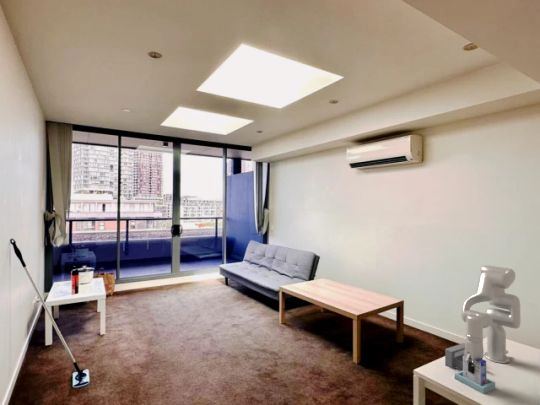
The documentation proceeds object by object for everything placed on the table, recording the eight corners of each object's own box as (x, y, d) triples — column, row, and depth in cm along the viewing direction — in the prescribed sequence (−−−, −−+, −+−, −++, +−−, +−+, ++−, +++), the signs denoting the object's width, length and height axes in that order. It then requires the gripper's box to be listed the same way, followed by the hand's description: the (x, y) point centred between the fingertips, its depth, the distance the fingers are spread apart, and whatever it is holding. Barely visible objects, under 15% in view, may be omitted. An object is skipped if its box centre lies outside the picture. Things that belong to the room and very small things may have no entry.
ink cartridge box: (487, 383, 165) (486, 356, 164) (481, 386, 162) (480, 359, 162) (468, 373, 173) (468, 348, 173) (462, 376, 171) (462, 351, 171)
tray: (466, 373, 177) (466, 368, 177) (495, 388, 163) (495, 382, 163) (454, 378, 172) (454, 373, 172) (483, 393, 158) (483, 388, 158)
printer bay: (463, 358, 194) (463, 343, 194) (489, 370, 180) (489, 353, 180) (445, 365, 186) (445, 349, 186) (470, 378, 172) (470, 360, 172)
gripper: (476, 332, 175) (476, 364, 175) (457, 338, 167) (458, 371, 167) (491, 337, 168) (491, 370, 168) (472, 344, 160) (472, 378, 161)
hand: (474, 370), depth 168 cm, fingers closed on ink cartridge box, 5 cm apart
